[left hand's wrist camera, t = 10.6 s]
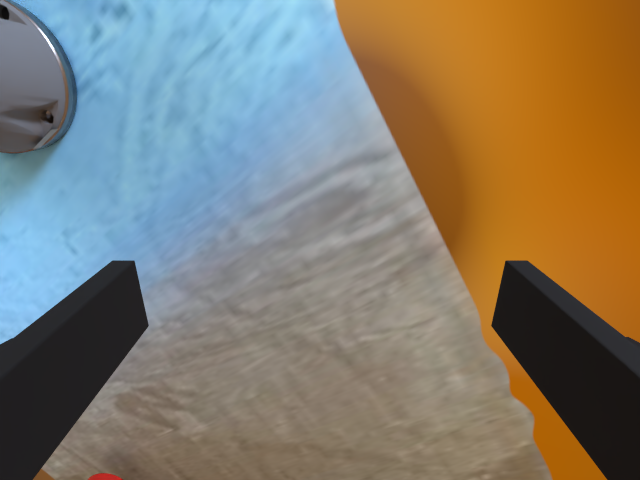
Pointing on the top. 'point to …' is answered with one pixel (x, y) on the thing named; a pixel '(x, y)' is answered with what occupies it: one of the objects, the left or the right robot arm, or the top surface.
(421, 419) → the top surface
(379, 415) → the top surface
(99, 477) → the tin
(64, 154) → the top surface
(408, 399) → the top surface
